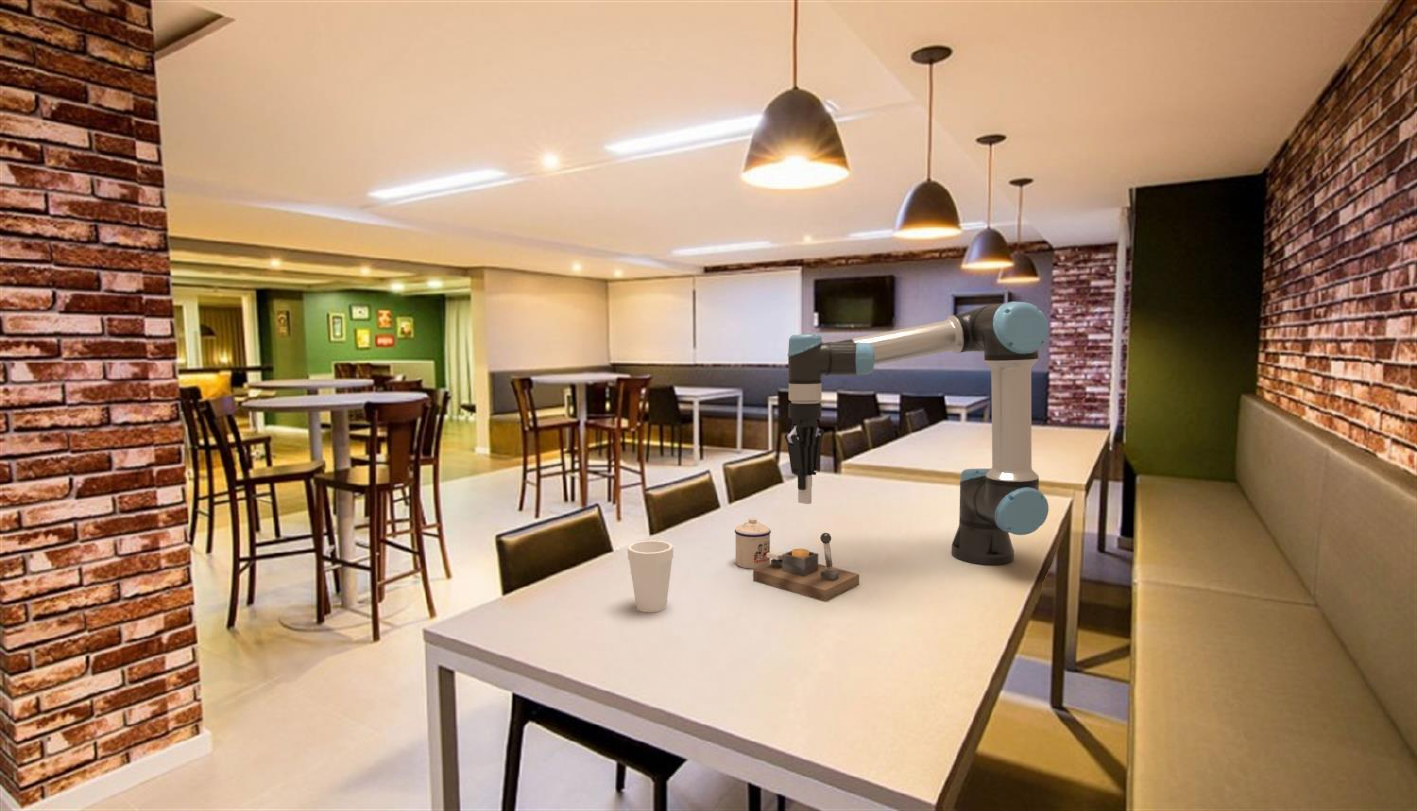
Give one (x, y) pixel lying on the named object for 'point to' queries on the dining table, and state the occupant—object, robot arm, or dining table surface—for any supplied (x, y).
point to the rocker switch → (775, 555)
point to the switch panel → (806, 577)
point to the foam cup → (650, 573)
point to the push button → (800, 553)
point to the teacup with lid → (752, 544)
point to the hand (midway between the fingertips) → (804, 502)
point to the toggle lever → (827, 549)
